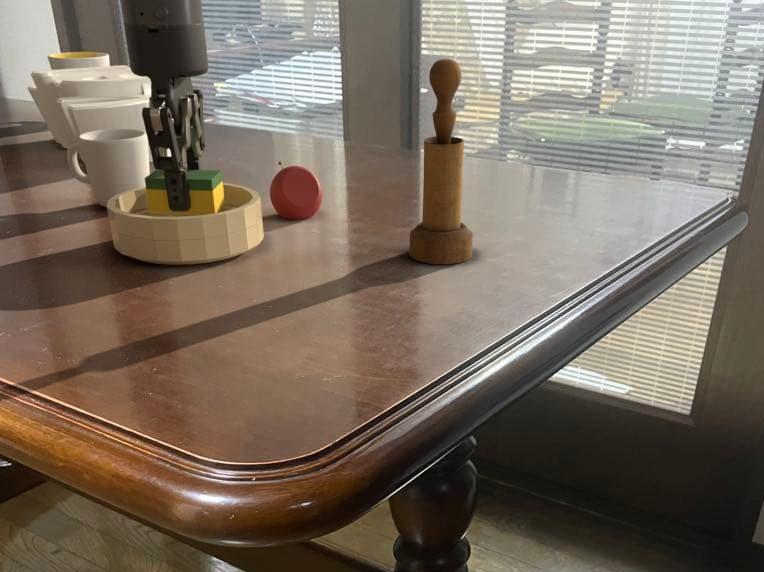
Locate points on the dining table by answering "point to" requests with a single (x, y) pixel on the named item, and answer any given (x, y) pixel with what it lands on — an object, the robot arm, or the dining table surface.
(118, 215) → the bowl
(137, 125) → the white wavy slab sculpture
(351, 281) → the dining table surface
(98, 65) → the mug
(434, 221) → the mortar and pestle
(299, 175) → the fruit
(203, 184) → the sponge
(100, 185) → the cup
